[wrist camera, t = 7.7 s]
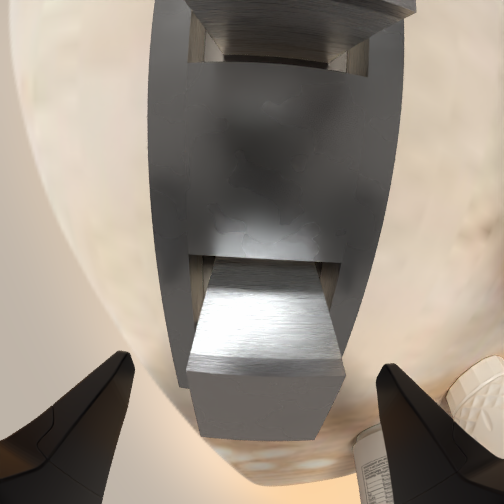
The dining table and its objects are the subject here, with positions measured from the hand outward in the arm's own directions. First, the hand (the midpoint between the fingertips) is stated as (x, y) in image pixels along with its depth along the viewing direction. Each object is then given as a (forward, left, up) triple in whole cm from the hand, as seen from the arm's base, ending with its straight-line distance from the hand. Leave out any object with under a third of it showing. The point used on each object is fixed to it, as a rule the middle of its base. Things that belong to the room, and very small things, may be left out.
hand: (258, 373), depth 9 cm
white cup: (-21, +10, -6) cm, 24 cm away
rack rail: (0, -6, -5) cm, 8 cm away
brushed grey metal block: (0, 0, -5) cm, 5 cm away
